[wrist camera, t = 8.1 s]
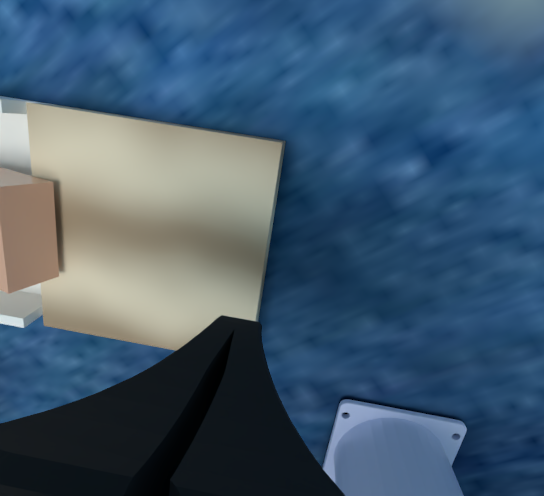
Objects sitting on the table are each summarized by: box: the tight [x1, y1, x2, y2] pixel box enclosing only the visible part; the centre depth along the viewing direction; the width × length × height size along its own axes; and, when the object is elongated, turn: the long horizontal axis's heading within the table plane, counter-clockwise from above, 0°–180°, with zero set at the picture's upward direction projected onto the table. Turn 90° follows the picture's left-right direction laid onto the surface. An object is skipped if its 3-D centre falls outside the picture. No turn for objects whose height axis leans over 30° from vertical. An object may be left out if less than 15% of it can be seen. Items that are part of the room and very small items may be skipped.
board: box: [26, 102, 286, 351], centre depth 19 cm, size 12×12×2 cm
